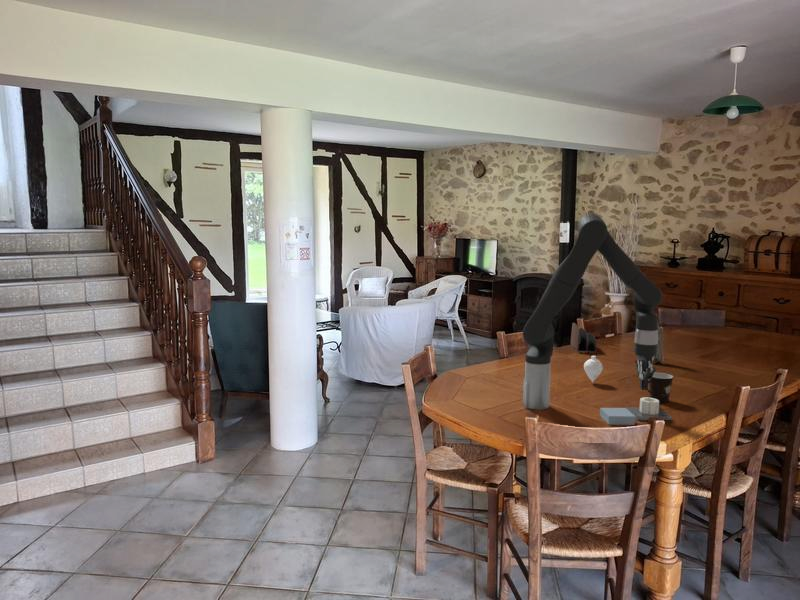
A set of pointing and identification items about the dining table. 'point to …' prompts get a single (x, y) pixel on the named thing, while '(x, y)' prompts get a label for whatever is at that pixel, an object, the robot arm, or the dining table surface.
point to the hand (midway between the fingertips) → (643, 389)
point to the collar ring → (649, 406)
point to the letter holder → (582, 340)
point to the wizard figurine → (659, 346)
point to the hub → (645, 417)
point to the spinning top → (593, 368)
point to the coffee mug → (660, 387)
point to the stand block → (617, 416)
